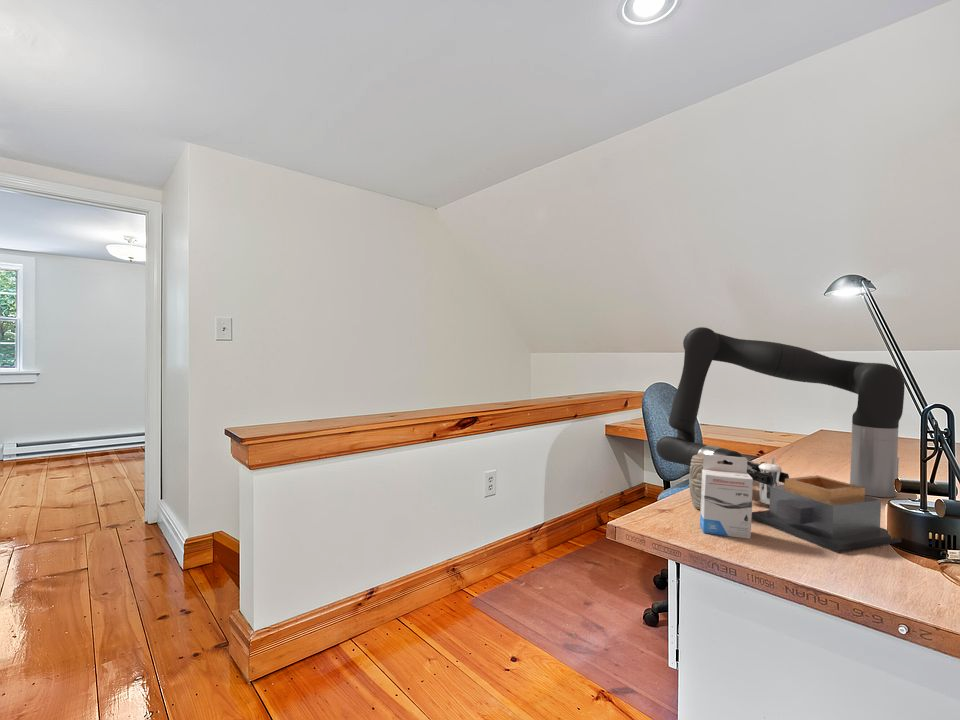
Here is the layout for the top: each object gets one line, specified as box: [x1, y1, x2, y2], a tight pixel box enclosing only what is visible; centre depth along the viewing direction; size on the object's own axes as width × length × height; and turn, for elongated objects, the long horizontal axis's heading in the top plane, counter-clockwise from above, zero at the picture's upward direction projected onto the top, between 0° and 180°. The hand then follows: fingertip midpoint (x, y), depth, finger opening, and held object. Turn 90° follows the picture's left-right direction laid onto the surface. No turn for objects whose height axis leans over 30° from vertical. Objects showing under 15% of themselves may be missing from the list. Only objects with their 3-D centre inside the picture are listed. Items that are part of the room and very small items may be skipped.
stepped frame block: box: [751, 475, 902, 554], centre depth 97 cm, size 18×18×10 cm
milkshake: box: [758, 457, 783, 506], centre depth 113 cm, size 4×5×10 cm
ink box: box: [699, 454, 754, 540], centre depth 96 cm, size 8×5×15 cm, turn 73°
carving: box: [688, 454, 722, 511], centre depth 109 cm, size 6×8×12 cm
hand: (779, 479), depth 110 cm, fingers closed on milkshake, 4 cm apart
